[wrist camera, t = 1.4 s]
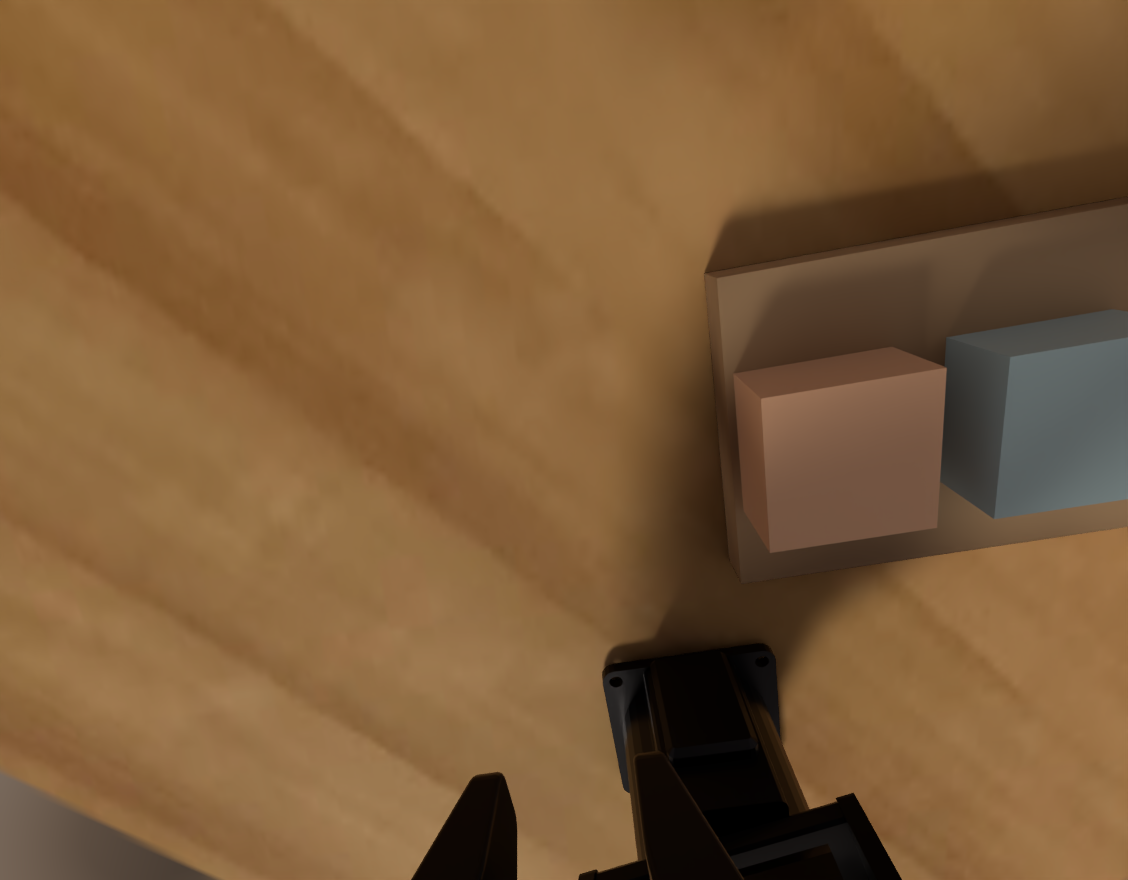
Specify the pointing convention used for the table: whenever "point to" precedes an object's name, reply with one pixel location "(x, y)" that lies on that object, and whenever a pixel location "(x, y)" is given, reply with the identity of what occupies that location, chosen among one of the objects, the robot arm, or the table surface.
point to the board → (911, 349)
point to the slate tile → (1038, 415)
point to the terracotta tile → (841, 447)
